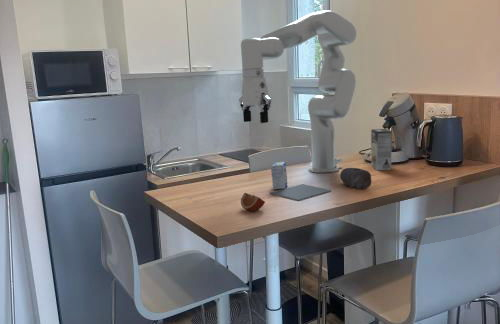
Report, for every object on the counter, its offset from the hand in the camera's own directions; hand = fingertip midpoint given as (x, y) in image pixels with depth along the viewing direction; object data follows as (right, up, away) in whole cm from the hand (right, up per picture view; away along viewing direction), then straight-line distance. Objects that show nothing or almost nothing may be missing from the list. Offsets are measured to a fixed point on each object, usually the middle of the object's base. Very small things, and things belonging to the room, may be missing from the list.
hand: (255, 122), depth 158 cm
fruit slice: (-1, -30, -25) cm, 39 cm away
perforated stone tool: (+35, -24, -3) cm, 42 cm away
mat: (+16, -25, -8) cm, 30 cm away
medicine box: (+9, -24, 0) cm, 26 cm away
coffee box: (+53, -17, +24) cm, 61 cm away
